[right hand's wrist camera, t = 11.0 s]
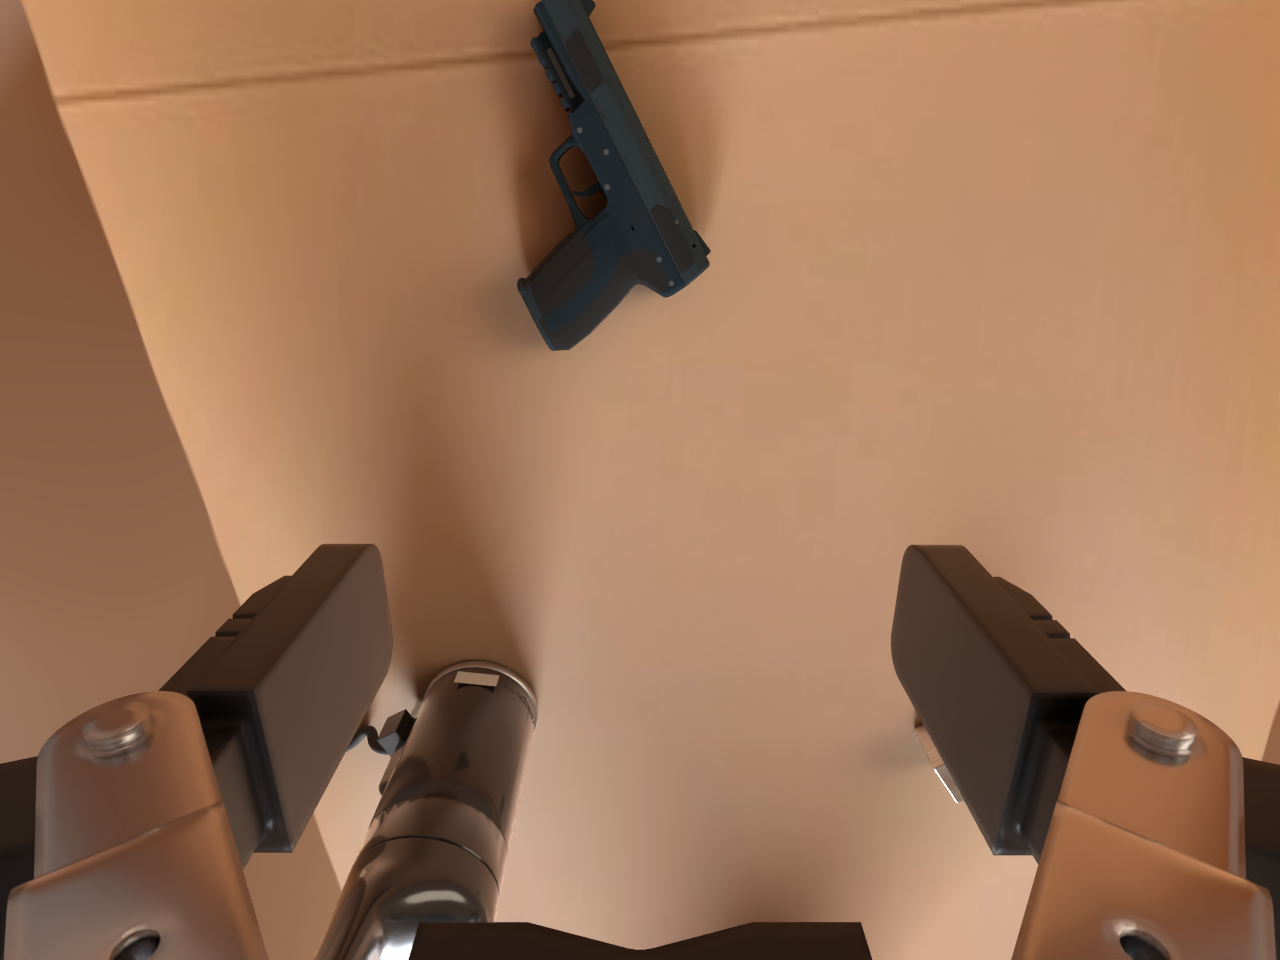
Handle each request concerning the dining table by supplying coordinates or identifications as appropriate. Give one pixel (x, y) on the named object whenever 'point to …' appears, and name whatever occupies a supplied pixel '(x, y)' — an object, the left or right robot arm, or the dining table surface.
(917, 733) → the block
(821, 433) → the dining table surface
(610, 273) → the handgun
